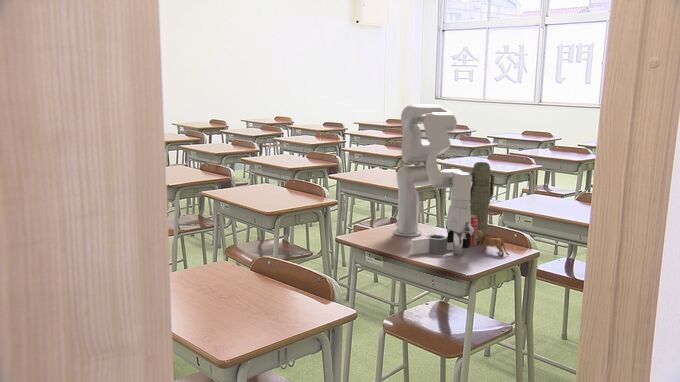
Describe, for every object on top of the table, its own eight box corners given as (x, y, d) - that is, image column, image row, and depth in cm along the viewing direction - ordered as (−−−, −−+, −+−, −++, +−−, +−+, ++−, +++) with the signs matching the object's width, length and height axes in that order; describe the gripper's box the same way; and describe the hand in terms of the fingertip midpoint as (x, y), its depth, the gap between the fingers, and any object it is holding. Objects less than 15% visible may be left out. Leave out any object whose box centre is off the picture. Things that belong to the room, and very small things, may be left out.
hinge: (406, 251, 233) (406, 237, 232) (454, 245, 244) (454, 232, 242) (417, 256, 226) (417, 242, 225) (465, 250, 236) (466, 236, 235)
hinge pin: (450, 254, 229) (451, 230, 228) (458, 253, 231) (459, 229, 229) (456, 257, 226) (457, 233, 224) (464, 256, 228) (466, 232, 226)
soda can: (475, 243, 248) (477, 214, 246) (477, 247, 241) (479, 217, 239) (458, 242, 249) (460, 213, 247) (460, 246, 242) (462, 217, 240)
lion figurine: (471, 252, 234) (472, 230, 233) (475, 249, 239) (476, 228, 237) (507, 257, 227) (509, 235, 226) (510, 254, 232) (512, 232, 230)
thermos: (494, 242, 249) (499, 163, 243) (471, 244, 246) (475, 164, 240) (483, 238, 258) (488, 161, 252) (460, 239, 254) (464, 161, 248)
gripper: (439, 200, 231) (437, 241, 234) (466, 208, 216) (464, 251, 218) (454, 199, 234) (452, 239, 237) (482, 206, 219) (479, 249, 222)
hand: (458, 245), depth 228 cm, fingers open, 9 cm apart
